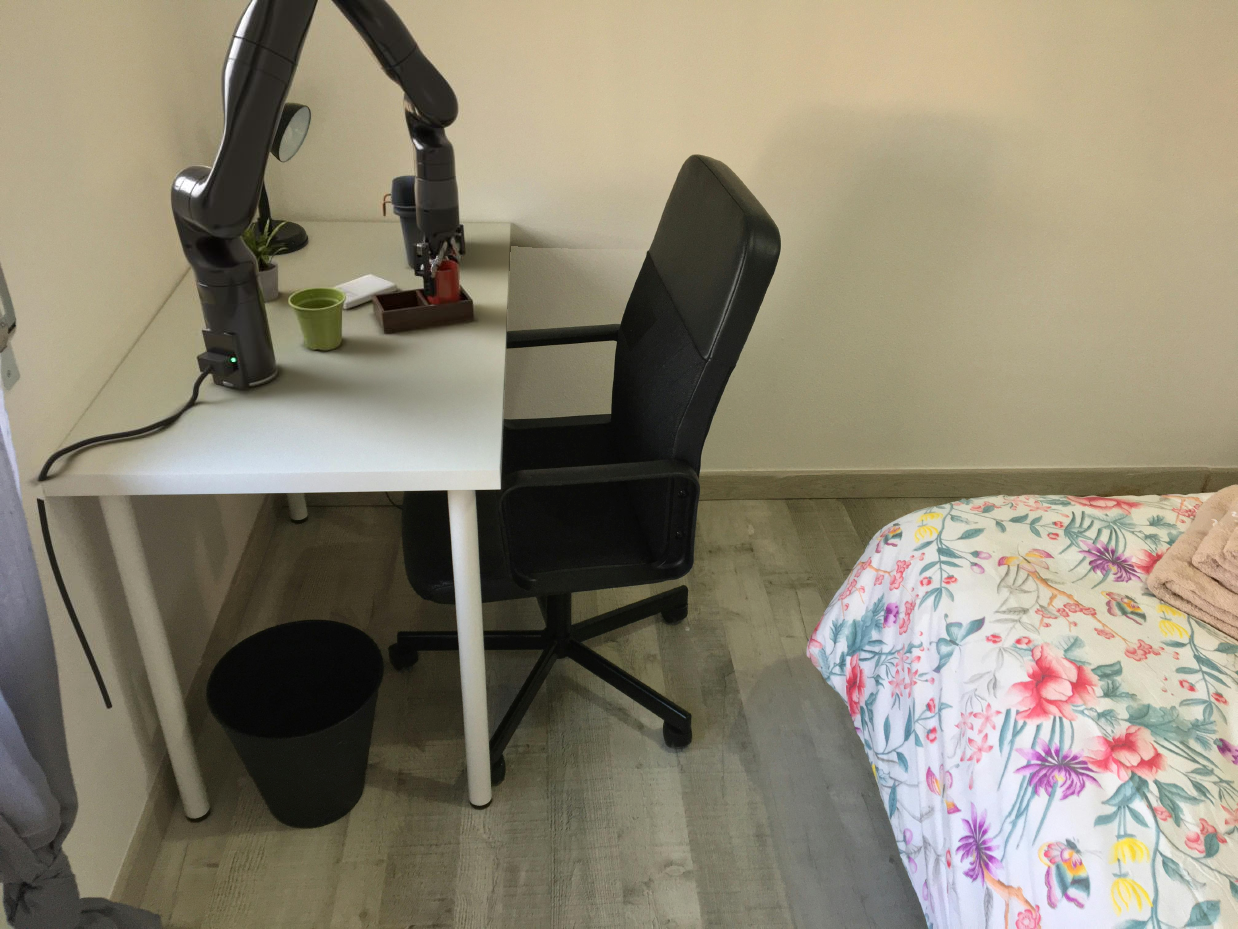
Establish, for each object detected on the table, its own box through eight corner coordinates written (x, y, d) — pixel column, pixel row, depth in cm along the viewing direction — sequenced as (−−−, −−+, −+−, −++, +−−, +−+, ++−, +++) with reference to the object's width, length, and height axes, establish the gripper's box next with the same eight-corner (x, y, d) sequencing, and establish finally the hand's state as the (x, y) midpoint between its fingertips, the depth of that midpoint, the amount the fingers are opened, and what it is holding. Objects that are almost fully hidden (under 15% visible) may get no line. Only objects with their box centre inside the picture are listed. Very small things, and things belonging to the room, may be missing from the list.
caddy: (474, 320, 170) (472, 300, 168) (384, 333, 164) (381, 312, 162) (460, 303, 177) (459, 283, 174) (374, 315, 170) (371, 294, 168)
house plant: (201, 304, 171) (182, 219, 162) (245, 278, 183) (229, 198, 174) (268, 315, 168) (252, 229, 160) (309, 288, 180) (296, 207, 171)
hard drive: (397, 291, 180) (346, 310, 172) (369, 281, 184) (319, 298, 176) (396, 283, 179) (345, 302, 171) (369, 273, 183) (318, 290, 175)
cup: (451, 319, 168) (448, 273, 163) (422, 314, 170) (419, 268, 165) (466, 307, 173) (464, 262, 168) (439, 302, 175) (435, 257, 170)
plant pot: (362, 344, 160) (356, 298, 155) (314, 360, 154) (307, 313, 149) (333, 328, 165) (326, 282, 160) (285, 343, 159) (277, 296, 154)
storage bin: (462, 271, 190) (458, 204, 183) (386, 274, 188) (379, 205, 180) (458, 237, 208) (454, 174, 200) (388, 239, 205) (382, 175, 197)
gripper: (438, 188, 166) (443, 272, 175) (396, 208, 155) (404, 297, 164) (475, 193, 164) (478, 279, 173) (435, 215, 153) (440, 305, 162)
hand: (442, 288), depth 169 cm, fingers open, 8 cm apart
